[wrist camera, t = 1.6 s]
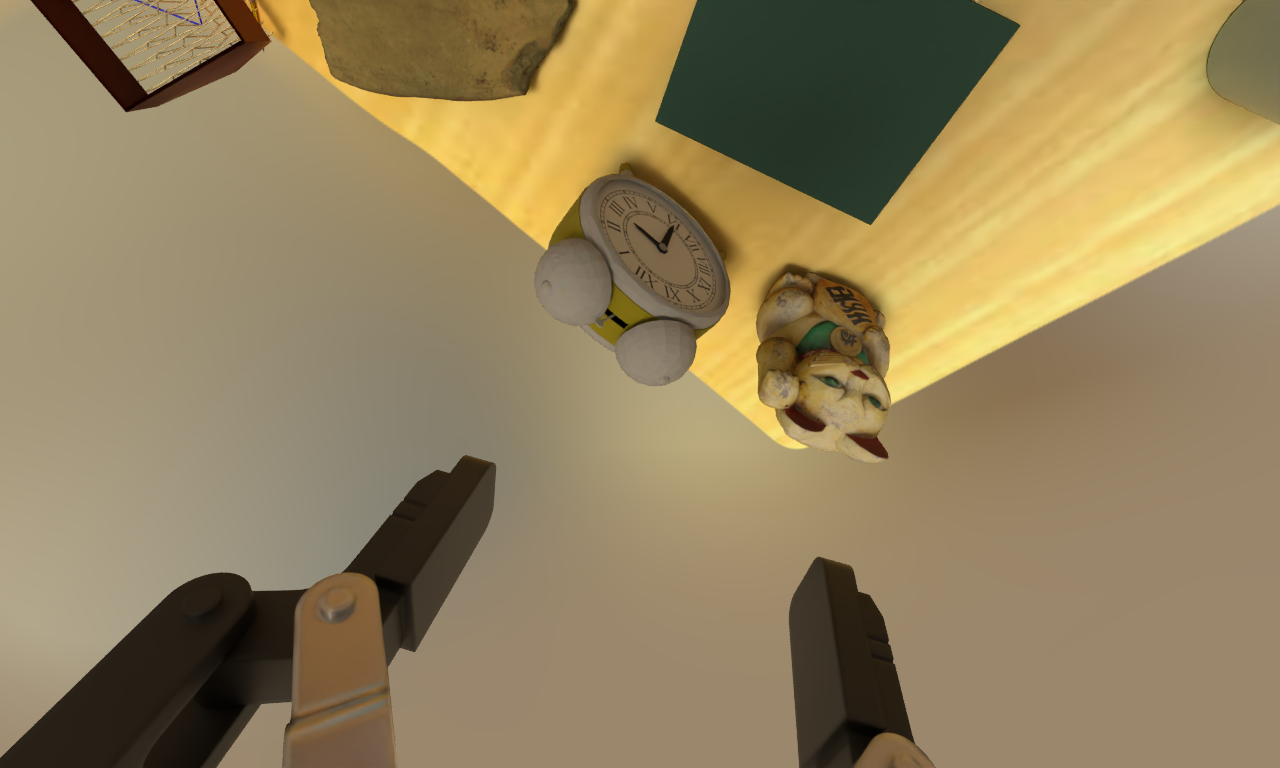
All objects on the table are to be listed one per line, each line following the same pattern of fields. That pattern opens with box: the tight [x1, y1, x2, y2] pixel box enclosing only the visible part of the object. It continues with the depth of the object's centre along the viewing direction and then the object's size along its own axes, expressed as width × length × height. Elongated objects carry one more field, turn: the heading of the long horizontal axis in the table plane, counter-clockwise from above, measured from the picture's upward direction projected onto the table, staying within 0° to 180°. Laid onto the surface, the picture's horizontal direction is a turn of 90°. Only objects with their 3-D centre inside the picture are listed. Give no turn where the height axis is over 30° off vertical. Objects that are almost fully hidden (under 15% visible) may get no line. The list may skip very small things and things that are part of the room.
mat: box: [655, 0, 1020, 225], centre depth 30 cm, size 12×16×1 cm
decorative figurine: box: [756, 272, 891, 463], centre depth 35 cm, size 10×8×15 cm
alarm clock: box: [534, 163, 730, 386], centre depth 34 cm, size 12×7×15 cm, turn 52°
